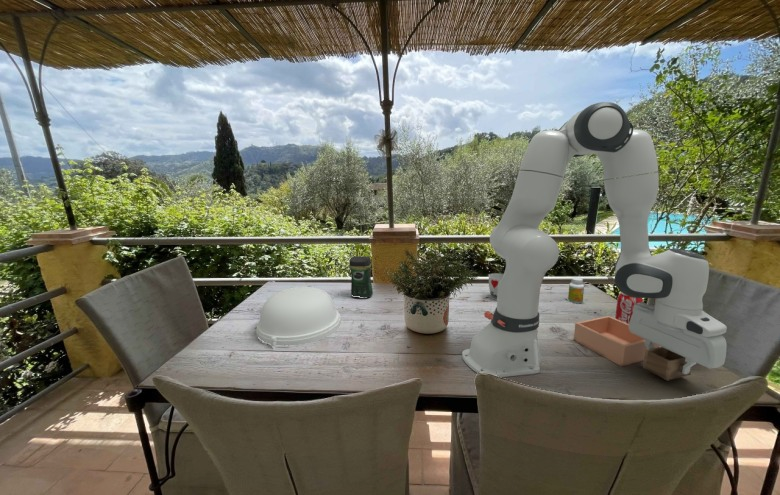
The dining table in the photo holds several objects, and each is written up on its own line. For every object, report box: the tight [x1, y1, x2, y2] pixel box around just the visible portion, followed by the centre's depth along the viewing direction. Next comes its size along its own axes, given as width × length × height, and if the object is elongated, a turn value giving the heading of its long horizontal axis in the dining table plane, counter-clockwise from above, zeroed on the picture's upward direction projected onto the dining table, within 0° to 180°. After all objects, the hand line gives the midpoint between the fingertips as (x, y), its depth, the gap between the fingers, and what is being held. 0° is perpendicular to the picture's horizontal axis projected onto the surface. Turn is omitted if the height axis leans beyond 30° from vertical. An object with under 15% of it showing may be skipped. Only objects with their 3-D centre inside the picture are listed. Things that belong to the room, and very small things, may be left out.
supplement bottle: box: [567, 276, 585, 304], centre depth 136 cm, size 5×5×10 cm
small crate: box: [642, 346, 692, 382], centre depth 85 cm, size 8×6×5 cm
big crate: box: [573, 315, 661, 367], centre depth 100 cm, size 14×16×6 cm
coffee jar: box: [348, 255, 374, 298], centre depth 149 cm, size 10×8×19 cm
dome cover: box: [256, 286, 342, 347], centre depth 120 cm, size 32×30×14 cm
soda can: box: [614, 291, 644, 324], centre depth 113 cm, size 7×7×12 cm
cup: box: [488, 272, 504, 301], centre depth 142 cm, size 8×8×10 cm
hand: (667, 364), depth 85 cm, fingers closed on small crate, 6 cm apart
